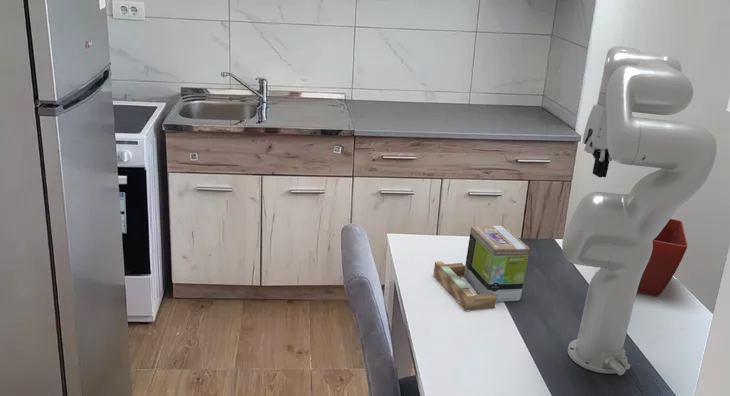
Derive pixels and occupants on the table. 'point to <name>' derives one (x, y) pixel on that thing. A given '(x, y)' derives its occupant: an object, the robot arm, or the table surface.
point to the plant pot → (664, 258)
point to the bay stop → (461, 287)
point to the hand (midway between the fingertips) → (599, 175)
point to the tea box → (496, 262)
